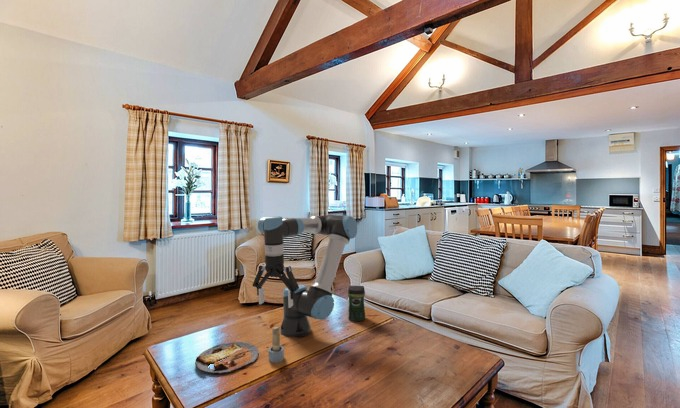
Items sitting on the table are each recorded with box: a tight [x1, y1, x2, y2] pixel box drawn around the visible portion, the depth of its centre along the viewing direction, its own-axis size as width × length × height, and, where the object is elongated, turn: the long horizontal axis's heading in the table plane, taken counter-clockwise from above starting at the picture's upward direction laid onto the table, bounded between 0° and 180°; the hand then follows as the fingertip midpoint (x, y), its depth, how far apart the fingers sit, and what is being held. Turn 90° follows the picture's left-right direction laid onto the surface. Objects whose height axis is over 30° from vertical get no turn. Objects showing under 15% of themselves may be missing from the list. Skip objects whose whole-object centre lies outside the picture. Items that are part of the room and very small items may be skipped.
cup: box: [268, 344, 285, 364], centre depth 132 cm, size 6×6×5 cm
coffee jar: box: [347, 285, 366, 322], centre depth 174 cm, size 10×8×19 cm
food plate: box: [194, 341, 259, 375], centre depth 133 cm, size 25×23×4 cm
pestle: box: [271, 326, 281, 352], centre depth 132 cm, size 3×3×13 cm
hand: (276, 304), depth 130 cm, fingers open, 13 cm apart
